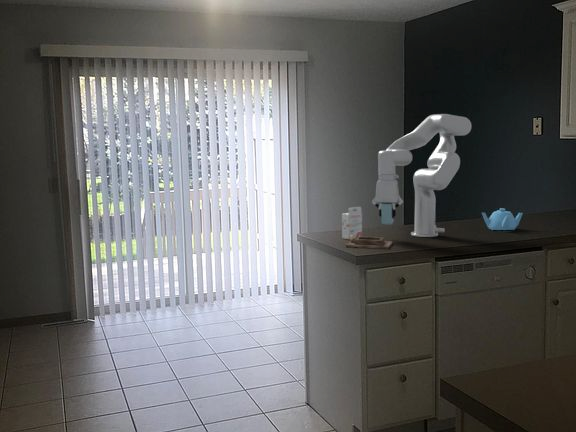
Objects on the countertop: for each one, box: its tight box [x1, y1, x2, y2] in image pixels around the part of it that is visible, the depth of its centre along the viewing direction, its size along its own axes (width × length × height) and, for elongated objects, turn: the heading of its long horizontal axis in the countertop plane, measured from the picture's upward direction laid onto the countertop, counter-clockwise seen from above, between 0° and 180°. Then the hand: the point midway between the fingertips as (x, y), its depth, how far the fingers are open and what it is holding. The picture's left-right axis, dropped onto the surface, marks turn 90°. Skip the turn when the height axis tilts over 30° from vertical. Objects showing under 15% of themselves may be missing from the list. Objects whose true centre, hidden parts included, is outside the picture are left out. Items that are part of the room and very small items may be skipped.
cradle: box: [345, 235, 393, 250], centre depth 276 cm, size 18×14×4 cm
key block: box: [380, 203, 395, 225], centre depth 289 cm, size 4×8×9 cm, turn 164°
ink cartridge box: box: [341, 206, 363, 240], centre depth 296 cm, size 9×5×15 cm, turn 126°
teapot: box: [481, 207, 523, 231], centre depth 319 cm, size 15×15×11 cm
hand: (387, 217), depth 289 cm, fingers closed on key block, 4 cm apart
